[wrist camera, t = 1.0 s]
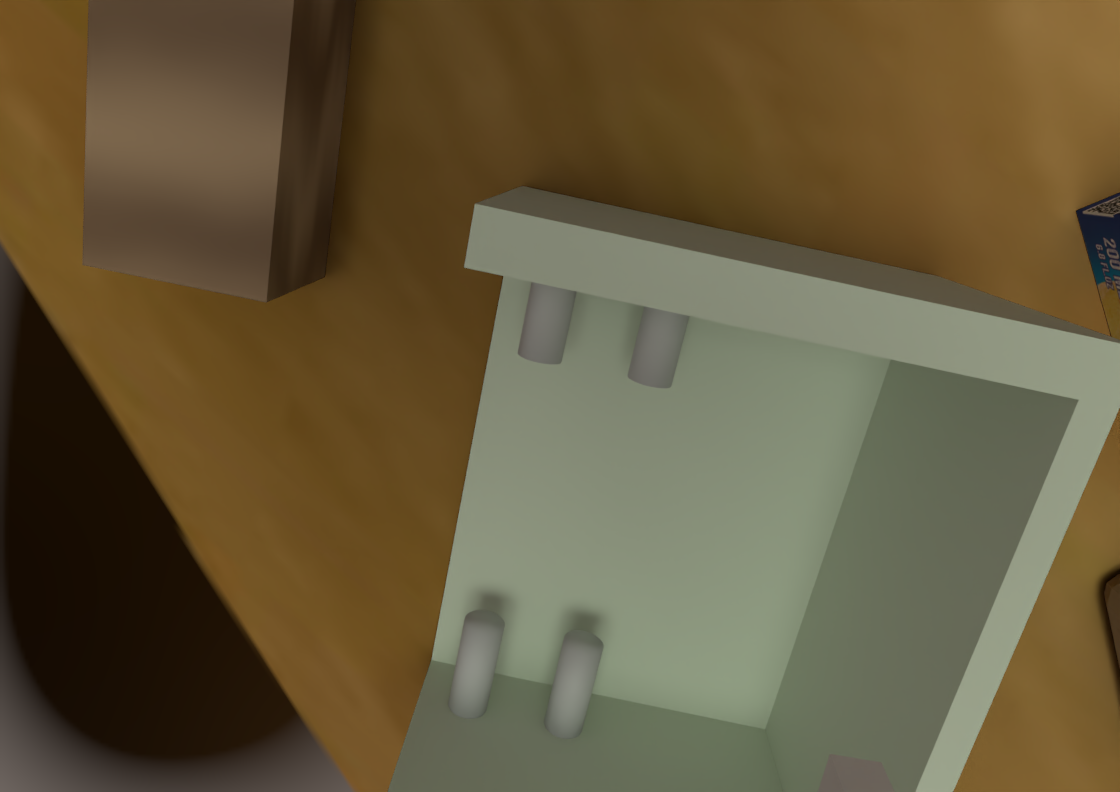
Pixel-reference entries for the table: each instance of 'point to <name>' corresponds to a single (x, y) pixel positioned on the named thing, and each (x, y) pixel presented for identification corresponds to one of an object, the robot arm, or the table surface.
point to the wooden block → (1114, 610)
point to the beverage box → (1104, 253)
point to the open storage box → (742, 511)
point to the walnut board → (214, 140)
